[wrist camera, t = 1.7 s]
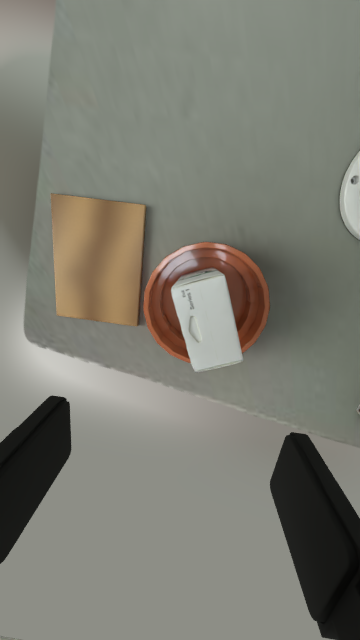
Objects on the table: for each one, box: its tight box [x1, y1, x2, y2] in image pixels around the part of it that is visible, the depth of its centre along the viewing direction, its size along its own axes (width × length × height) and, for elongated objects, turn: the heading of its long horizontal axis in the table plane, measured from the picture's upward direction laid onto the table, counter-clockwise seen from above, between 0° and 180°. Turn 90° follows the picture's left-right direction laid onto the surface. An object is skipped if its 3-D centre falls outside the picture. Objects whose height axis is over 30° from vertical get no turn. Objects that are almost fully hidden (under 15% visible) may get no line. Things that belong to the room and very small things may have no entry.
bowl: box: [143, 242, 270, 363], centre depth 28 cm, size 15×15×5 cm
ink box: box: [171, 267, 243, 372], centre depth 24 cm, size 9×5×12 cm, turn 16°
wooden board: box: [51, 194, 146, 326], centre depth 29 cm, size 12×16×1 cm
